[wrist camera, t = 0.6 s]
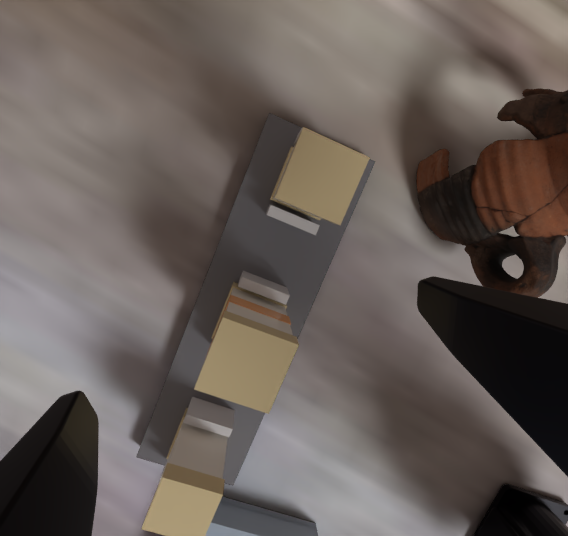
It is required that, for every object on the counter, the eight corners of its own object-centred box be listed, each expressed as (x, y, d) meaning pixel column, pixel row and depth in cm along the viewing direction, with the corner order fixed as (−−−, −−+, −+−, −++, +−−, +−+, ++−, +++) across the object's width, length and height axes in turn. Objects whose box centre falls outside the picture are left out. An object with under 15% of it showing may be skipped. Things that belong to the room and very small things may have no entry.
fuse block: (369, 163, 22) (421, 145, 15) (234, 474, 25) (225, 574, 19) (268, 116, 21) (274, 74, 14) (140, 446, 24) (95, 541, 18)
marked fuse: (285, 301, 22) (298, 345, 15) (264, 350, 23) (268, 413, 16) (233, 281, 22) (222, 317, 15) (213, 332, 22) (193, 389, 15)
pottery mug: (404, 116, 22) (557, 33, 15) (484, 148, 27) (627, 96, 20) (410, 302, 21) (576, 306, 14) (492, 300, 26) (644, 302, 19)
